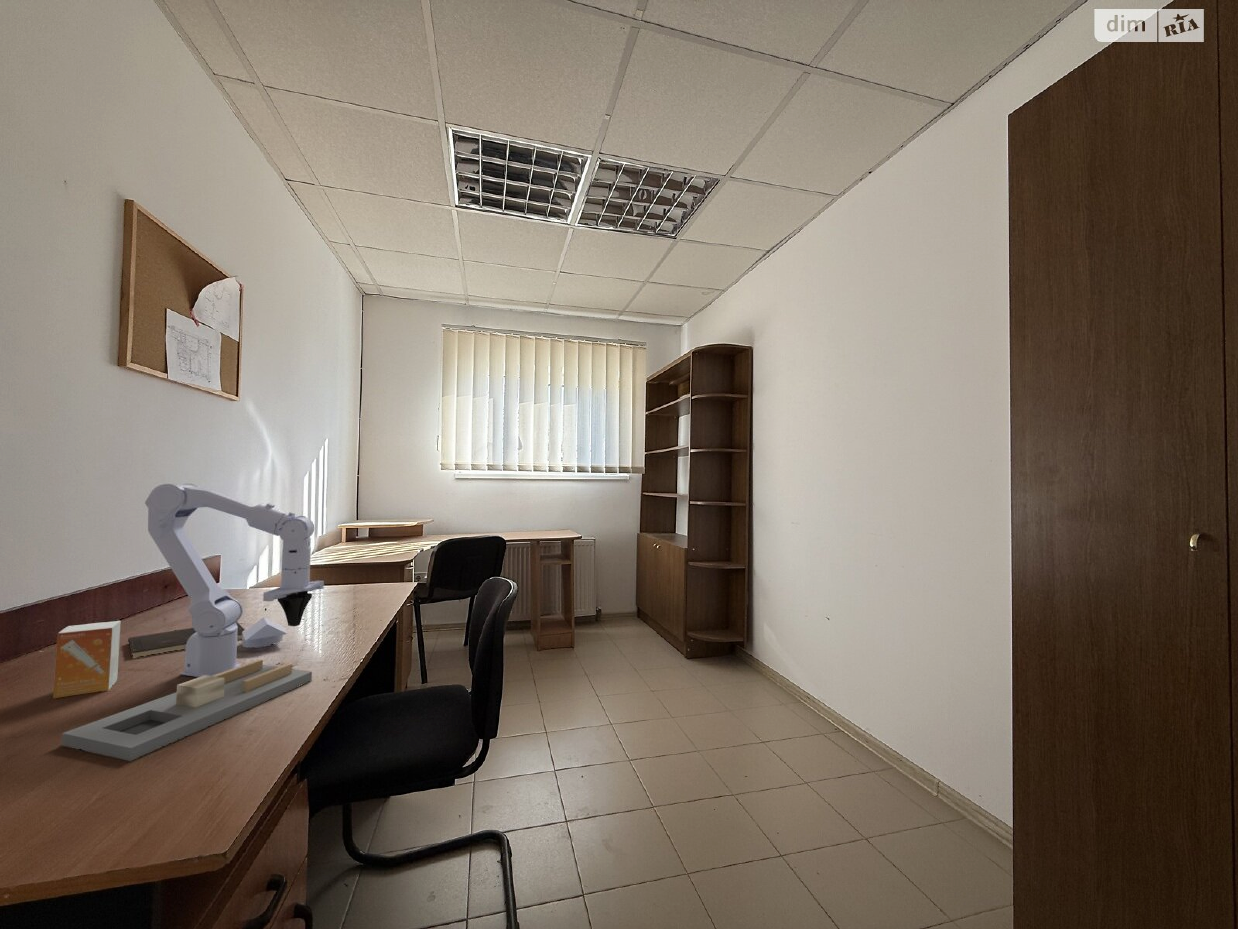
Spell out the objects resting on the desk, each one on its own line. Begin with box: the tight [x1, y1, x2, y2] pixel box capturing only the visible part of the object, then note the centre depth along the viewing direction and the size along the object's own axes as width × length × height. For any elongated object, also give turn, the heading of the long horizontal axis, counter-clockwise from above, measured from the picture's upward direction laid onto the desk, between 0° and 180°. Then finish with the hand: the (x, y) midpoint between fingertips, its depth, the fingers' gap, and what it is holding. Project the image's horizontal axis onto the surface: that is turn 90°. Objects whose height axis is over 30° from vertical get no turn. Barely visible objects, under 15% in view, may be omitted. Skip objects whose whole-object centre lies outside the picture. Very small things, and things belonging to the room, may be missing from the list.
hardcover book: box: [127, 621, 246, 658], centre depth 135 cm, size 16×23×2 cm
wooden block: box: [176, 675, 225, 708], centre depth 95 cm, size 5×5×4 cm
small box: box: [52, 620, 122, 699], centre depth 104 cm, size 8×6×13 cm
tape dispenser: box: [241, 616, 288, 648], centre depth 134 cm, size 9×7×13 cm
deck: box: [61, 659, 313, 762], centre depth 96 cm, size 16×33×4 cm, turn 165°
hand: (293, 625), depth 119 cm, fingers closed
